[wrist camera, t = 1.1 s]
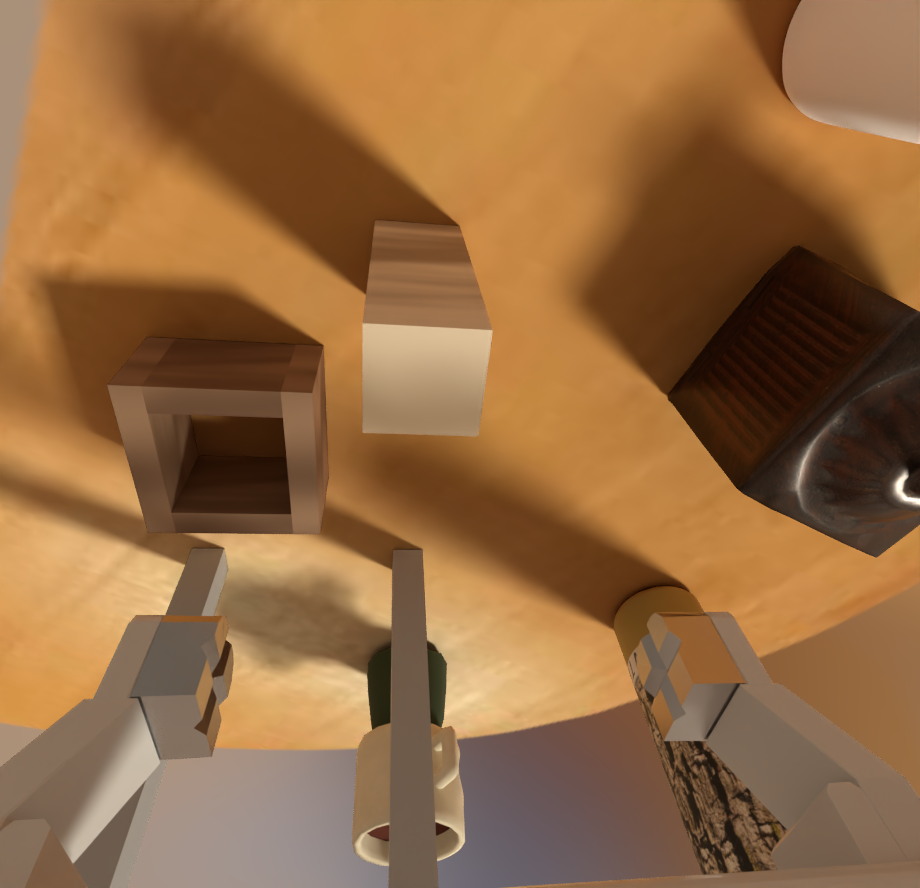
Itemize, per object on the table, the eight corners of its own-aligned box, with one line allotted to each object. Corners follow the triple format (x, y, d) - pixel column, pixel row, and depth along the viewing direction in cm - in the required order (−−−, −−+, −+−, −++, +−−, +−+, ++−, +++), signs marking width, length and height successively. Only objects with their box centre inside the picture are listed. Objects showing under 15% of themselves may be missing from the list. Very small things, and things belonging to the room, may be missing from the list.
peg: (375, 219, 28) (362, 323, 18) (459, 225, 28) (492, 330, 18) (374, 301, 30) (362, 432, 20) (452, 305, 30) (478, 436, 21)
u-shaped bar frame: (174, 507, 36) (-181, 1258, 14) (433, 511, 38) (482, 1174, 16) (190, 574, 40) (-76, 1266, 17) (427, 575, 42) (460, 1196, 19)
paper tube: (696, 572, 44) (955, 1041, 24) (696, 628, 48) (918, 1070, 27) (607, 592, 44) (785, 1069, 24) (613, 645, 48) (771, 1094, 28)
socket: (146, 336, 30) (106, 385, 26) (323, 345, 31) (312, 393, 27) (177, 473, 35) (147, 532, 31) (328, 477, 36) (319, 534, 32)
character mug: (409, 707, 51) (412, 885, 40) (335, 685, 48) (317, 870, 38) (482, 636, 46) (507, 816, 36) (404, 608, 43) (406, 794, 33)
